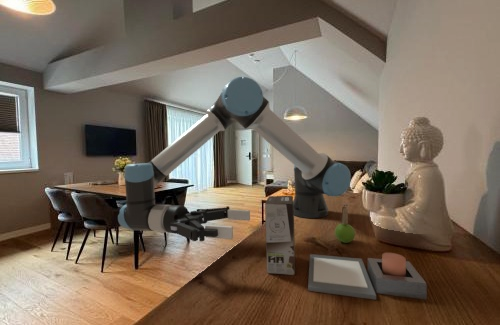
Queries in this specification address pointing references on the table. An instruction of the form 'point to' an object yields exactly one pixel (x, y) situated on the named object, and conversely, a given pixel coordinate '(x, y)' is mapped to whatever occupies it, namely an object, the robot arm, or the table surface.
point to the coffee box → (280, 235)
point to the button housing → (397, 281)
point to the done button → (393, 264)
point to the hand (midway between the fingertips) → (242, 223)
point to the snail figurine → (344, 228)
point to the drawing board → (339, 276)
